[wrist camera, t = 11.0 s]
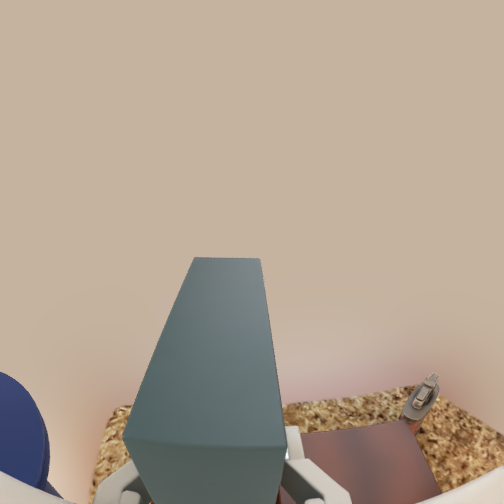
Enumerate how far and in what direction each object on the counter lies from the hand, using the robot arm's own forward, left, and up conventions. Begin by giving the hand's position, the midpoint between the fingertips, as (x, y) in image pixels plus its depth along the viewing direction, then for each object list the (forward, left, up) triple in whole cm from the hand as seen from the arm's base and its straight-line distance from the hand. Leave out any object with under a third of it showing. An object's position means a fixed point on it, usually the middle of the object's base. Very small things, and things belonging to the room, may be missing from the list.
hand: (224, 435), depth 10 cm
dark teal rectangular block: (0, -1, -9) cm, 9 cm away
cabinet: (+11, +5, -23) cm, 26 cm away
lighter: (+22, +15, -23) cm, 35 cm away
